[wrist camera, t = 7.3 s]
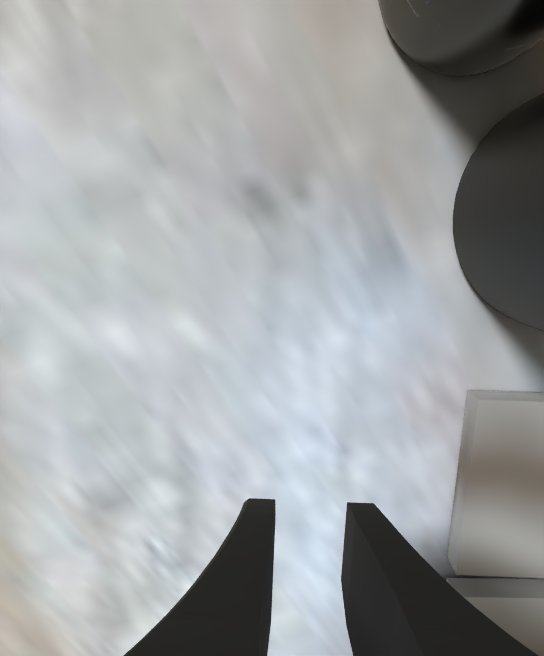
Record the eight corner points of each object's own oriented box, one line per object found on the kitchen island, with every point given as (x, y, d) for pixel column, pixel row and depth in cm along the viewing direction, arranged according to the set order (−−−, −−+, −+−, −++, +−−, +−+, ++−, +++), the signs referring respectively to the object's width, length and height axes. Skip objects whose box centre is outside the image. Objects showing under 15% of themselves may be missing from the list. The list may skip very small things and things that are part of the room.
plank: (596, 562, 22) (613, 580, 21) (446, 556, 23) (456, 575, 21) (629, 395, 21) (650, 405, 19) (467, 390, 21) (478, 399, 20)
